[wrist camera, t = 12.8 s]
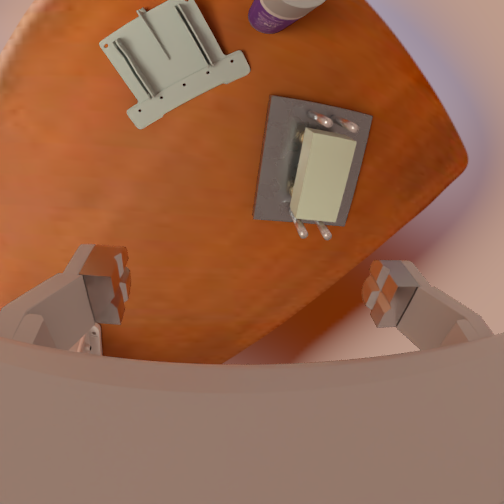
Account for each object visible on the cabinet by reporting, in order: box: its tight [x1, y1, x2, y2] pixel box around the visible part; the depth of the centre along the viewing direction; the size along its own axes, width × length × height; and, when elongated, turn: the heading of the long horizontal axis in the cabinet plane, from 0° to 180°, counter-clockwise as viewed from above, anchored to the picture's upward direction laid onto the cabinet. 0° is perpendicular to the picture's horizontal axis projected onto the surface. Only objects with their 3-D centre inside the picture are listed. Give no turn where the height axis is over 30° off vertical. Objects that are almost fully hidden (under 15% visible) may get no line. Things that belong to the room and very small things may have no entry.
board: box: [290, 127, 357, 222], centre depth 33 cm, size 10×5×3 cm, turn 172°
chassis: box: [252, 95, 373, 240], centre depth 35 cm, size 16×13×8 cm
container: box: [248, 0, 326, 34], centre depth 21 cm, size 5×5×15 cm
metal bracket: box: [99, 0, 250, 129], centre depth 28 cm, size 14×6×15 cm
